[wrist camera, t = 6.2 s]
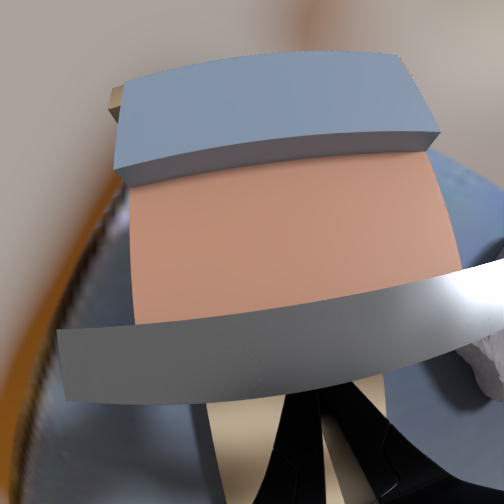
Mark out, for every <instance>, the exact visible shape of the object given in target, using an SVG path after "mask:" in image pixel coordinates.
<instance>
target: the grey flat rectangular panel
mask: <svg viewBox="0 0 504 504" xmlns="http://www.w3.org/2000/svg"><path fill="white" fill-rule="evenodd" d="M502 329H504V259H502V260H498V261H495V262H491V263H488V264H484V265H480V266H477V267H473V268H469V269H465V270H461V271H457V272H453V273H449V274H445V275H441V276H437V277H433V278H429V279H425V280H420V281H416V282H412V283H407V284H403V285H398V286H393V287H389V288H384V289H379V290H374V291H369V292H364V293H359V294H354V295H349V296H344V297H338V298H333V299H327V300H322V301H316V302H310V303H304V304H298V305H292V306H286V307H279V308H273V309H266V310H259V311H252V312H245V313H238V314H230V315H223V316H215V317H206V318H198V319H189V320H180V321H170V322H160V323H149V324H138V325H125V326H112V327H97V328H79V329H57V340H58V349H59V358H60V365H61V372H62V379H63V385H64V390H65V396H66V400H68V401H78V402H89V403H103V404H124V405H181V404H202V403H217V402H229V401H239V400H248V399H257V398H265V397H272V396H279V395H285V394H292V393H298V392H303V391H309V390H314V389H319V388H324V387H329V386H334V385H338V384H343V383H347V382H351V381H356V380H360V379H364V378H368V377H371V376H375V375H379V374H383V373H386V372H390V371H393V370H396V369H400V368H403V367H406V366H409V365H413V364H416V363H419V362H422V361H425V360H428V359H431V358H433V357H436V356H439V355H442V354H445V353H447V352H450V351H453V350H455V349H458V348H460V347H463V346H465V345H468V344H470V343H473V342H475V341H477V340H480V339H482V338H484V337H486V336H489V335H491V334H493V333H495V332H497V331H500V330H502Z"/></svg>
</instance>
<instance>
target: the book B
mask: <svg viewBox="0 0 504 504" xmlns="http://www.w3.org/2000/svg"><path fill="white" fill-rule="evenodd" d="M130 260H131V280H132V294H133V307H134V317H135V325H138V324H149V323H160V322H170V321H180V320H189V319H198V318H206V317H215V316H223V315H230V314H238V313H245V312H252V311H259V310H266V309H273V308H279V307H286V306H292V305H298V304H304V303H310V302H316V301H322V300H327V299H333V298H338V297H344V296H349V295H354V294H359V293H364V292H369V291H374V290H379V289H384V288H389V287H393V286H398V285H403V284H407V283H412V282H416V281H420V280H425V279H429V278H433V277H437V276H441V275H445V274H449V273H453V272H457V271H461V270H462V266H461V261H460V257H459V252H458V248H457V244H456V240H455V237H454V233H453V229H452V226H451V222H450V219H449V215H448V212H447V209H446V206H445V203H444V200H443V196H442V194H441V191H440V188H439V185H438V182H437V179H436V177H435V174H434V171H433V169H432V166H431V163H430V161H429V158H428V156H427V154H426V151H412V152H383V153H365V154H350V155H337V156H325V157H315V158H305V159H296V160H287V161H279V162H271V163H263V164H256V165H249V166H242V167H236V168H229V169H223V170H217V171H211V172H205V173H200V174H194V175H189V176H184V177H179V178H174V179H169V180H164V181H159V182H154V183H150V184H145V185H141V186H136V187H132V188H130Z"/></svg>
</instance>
